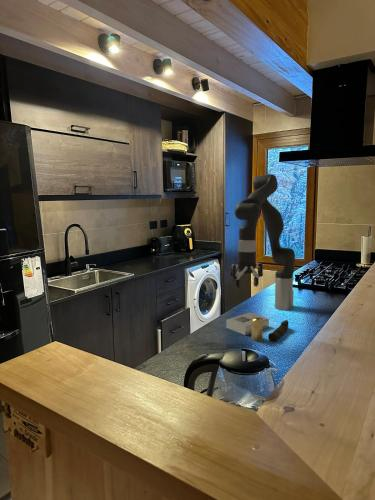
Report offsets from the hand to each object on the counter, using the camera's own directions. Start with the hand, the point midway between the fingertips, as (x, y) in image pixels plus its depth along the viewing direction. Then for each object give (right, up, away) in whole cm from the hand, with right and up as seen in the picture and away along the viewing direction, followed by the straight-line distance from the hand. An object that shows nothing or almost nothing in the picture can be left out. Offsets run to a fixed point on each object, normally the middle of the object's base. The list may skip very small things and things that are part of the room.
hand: (246, 287), depth 151 cm
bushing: (+4, -22, -1) cm, 23 cm away
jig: (+3, -20, +13) cm, 24 cm away
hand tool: (+15, -22, +3) cm, 27 cm away
